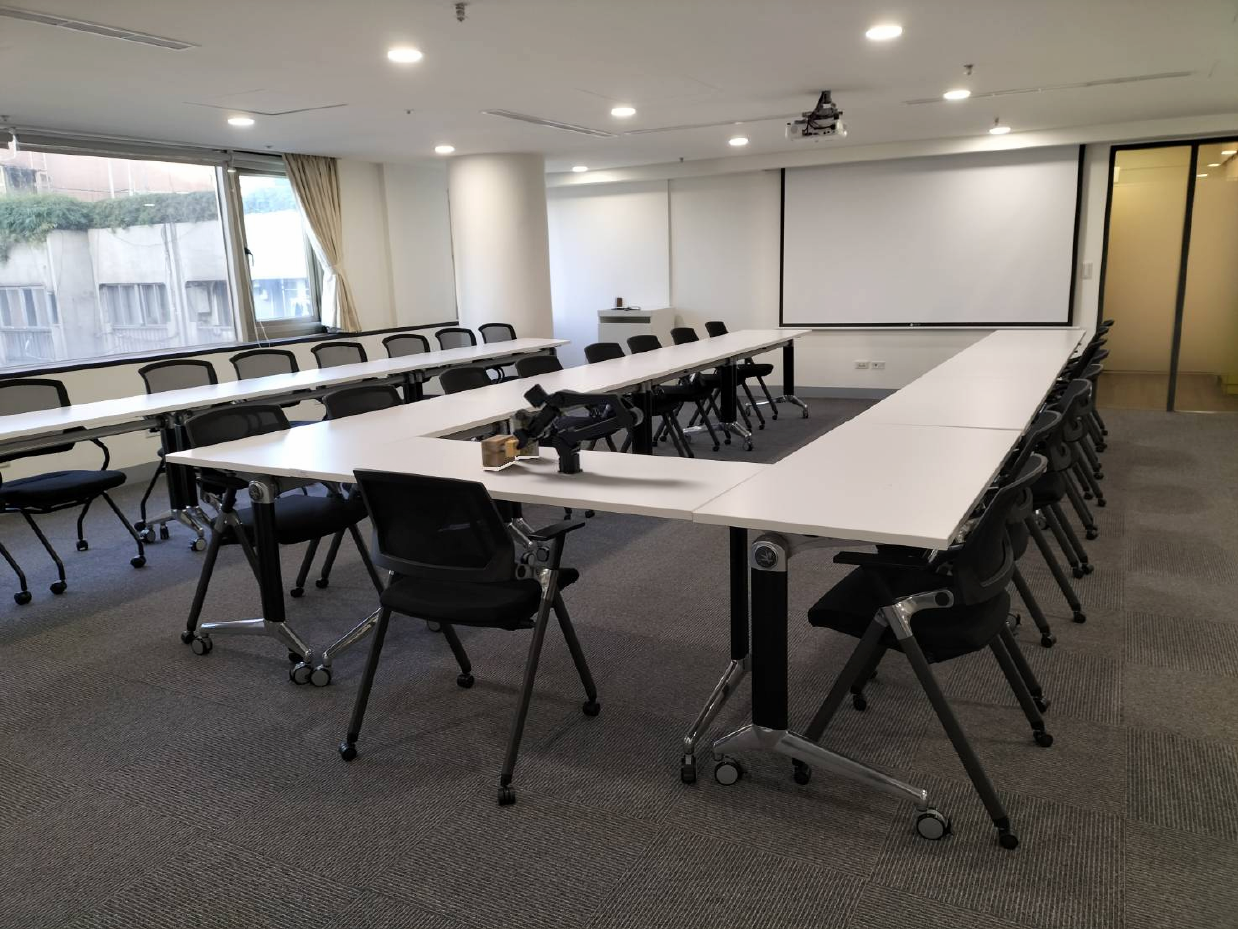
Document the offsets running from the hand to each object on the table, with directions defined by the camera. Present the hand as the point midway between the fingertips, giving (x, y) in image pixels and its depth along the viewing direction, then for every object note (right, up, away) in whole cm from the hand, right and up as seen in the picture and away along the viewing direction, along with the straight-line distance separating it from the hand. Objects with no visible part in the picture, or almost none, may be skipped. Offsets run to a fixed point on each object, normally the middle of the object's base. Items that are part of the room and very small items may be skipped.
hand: (517, 449), depth 303 cm
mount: (-7, -6, +7) cm, 12 cm away
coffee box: (0, -3, +22) cm, 22 cm away
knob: (-4, -2, +2) cm, 4 cm away
